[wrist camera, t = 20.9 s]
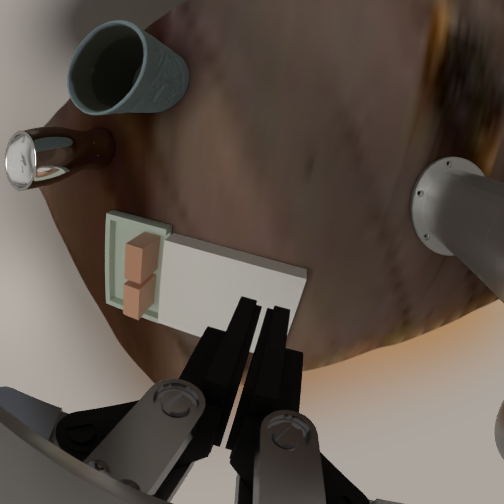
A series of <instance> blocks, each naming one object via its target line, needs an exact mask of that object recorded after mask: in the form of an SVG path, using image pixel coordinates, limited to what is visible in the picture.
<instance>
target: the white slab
mask: <svg viewBox="0 0 504 504" xmlns="http://www.w3.org/2000/svg"><path fill="white" fill-rule="evenodd" d="M306 280H307V269H304V268H301V267H297V266H293V265H290V264H286V263H282V262H279V261H275V260H271V259H268V258H264V257H260V256H257V255H253V254H249V253H246V252H242V251H238V250H235V249H231V248H227V247H224V246H220V245H216V244H213V243H209V242H205V241H202V240H198V239H194V238H191V237H187V236H183V235H180V234H176V233H173V234H172V235H171V236H169V237H168V238H166V239H165V240H164V249H163V259H162V270H161V282H160V296H159V311H158V323H161V324H164V325H167V326H169V327H172V328H175V329H178V330H181V331H184V332H187V333H190V334H193V335H196V336H199V337H202V335H203V333H204V331H205V329H206V328H207V327H208V326H209V327H213V328H216V329H219V330H222V331H226V330H227V328H228V325H229V323H230V321H231V319H232V316H233V314H234V312H235V309H236V307H237V305H238V302H239V300H240V298H241V296H243V297H246V298H250V299H254V300H257V303H256V305H259V306H262V309H261V312H260V316H259V319H258V323H257V326H256V330H255V333H254V337H253V340H252V344H251V347H250V351H249V352H252V353H254V350H255V347H256V344H257V341H258V337H259V334H260V331H261V327H262V324H263V320H264V317H265V314H266V310H267V308H270V309H273V308H274V306H279V307H283V308H287V309H290V317H289V325H288V332H289V329H290V327H291V324H292V321H293V318H294V315H295V312H296V309H297V307H298V304H299V301H300V298H301V295H302V292H303V289H304V286H305V283H306ZM288 332H287V335H288Z"/></svg>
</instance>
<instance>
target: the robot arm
mask: <svg viewBox="0 0 504 504" xmlns="http://www.w3.org/2000/svg"><path fill="white" fill-rule="evenodd" d="M447 162H448V165H447ZM418 191H420V193H419V194H417V192H418ZM410 215H411V221H412V224H413V227H414V230H415V232H416V234H417V236H418V237H419V239H420V240H421V241H422V242H423V243H424V244H425V245H426V246H427V247H428V248H429V249H431V250H432V251H434V252H435V253H438V254H441V255H447V256H453V255H455V256H456V257H457V258H458V259H459V260H460V261H462V262H463V263H464V264H465V265H466V266H467V267H468V268H469V269H470V270H471V271H472V272H473V273H474V274H475V275H476V276H477V277H478V278H479V279H480V280H481V281H482V282H483V283H484V284H485V285H486V286H487V287H488V288H489V289H490V290H491V291H492V292H493V293H494V294H495V295H496V296H497V297H498V298H499V299H500V300H501V301H502V302H503V303H504V182H501V181H497V180H494V179H491V178H487V177H485V175H484V174H483V172H482V171H481V170H480V169H479V168H478V167H477V166H476V165H475V164H474V163H472V162H471V161H469V160H466V159H464V158H460V157H444V158H440V159H438V160H436V161H434V162H432V163H431V164H430V165H428V166H427V167H426V168H425V169H424V170H423V171H422V173H421V174H420V175H419V177H418V179H417V181H416V182H415V185H414V188H413V191H412V194H411V200H410ZM425 234H426V236H425V237H424V235H425ZM256 303H257V300H254V299H250V298H246V297H243V296H241V298H240V300H239V302H238V305H237V307H236V309H235V312H234V314H233V316H232V319H231V321H230V323H229V325H228V328H227V330H226V331H222V330H219V329H216V328H213V327H209V326H208V327H207V328H206V329H205V331H204V333H203V335H202V337H201V339H200V341H199V342H198V344H197V346H196V348H195V350H194V352H193V354H192V355H191V357H190V359H189V361H188V363H187V365H186V367H185V368H184V370H183V372H182V374H181V376H180V378H179V379H164V380H162V381H159V382H157V383H156V384H154V385H153V386H152V387H151V388H150V389H149V390H148V391H147V392H146V393H145V395H144V396H143V397H142V398H141V399H140V400H138V401H134V402H129V403H124V404H120V405H114V406H109V407H103V408H97V409H91V410H86V411H78V412H74V413H71V414H68V413H65V412H63V410H62V409H61V408H59V407H56V406H54V405H51V404H49V403H46V402H43V401H41V400H38V399H36V398H34V397H31V396H29V395H26V394H24V393H22V392H20V391H17V390H15V389H13V388H10V387H0V504H172V503H170V501H171V500H172V498H173V496H174V495H175V493H176V491H177V490H178V488H179V487H180V486H181V484H182V482H183V481H184V479H185V477H186V476H187V474H188V473H189V471H190V470H191V468H192V466H193V464H194V462H195V461H197V460H199V459H202V458H205V457H208V455H209V453H210V452H211V449H212V447H213V445H216V446H220V444H221V441H222V438H223V435H224V432H225V429H226V425H227V423H228V419H229V416H230V413H231V410H232V407H233V404H234V400H235V397H236V394H237V391H238V387H239V384H240V381H241V378H242V374H243V371H244V368H245V364H246V361H247V358H248V354H249V351H250V347H251V344H252V340H253V337H254V333H255V330H256V326H257V323H258V319H259V316H260V312H261V309H262V306H259V305H256ZM289 317H290V309H287V308H283V307H279V306H274V308H273V309H270V308H267V310H266V314H265V317H264V320H263V324H262V327H261V331H260V334H259V337H258V341H257V344H256V347H255V350H254V354H253V357H252V360H251V364H250V367H249V370H248V374H247V377H246V381H245V384H244V388H243V391H242V394H241V398H240V401H239V405H238V408H237V411H236V415H235V418H234V422H233V425H232V428H231V431H230V435H229V438H228V441H227V444H226V448H227V449H230V450H232V452H231V455H230V459H231V460H230V464H231V465H232V467H233V468H234V469H235V470H236V472H237V473H238V474H237V477H236V492H235V504H402V503H397V502H391V501H386V500H381V499H376V500H375V501H372V500H368V499H367V497H366V496H365V495H364V494H363V493H362V492H361V491H360V490H359V489H358V488H357V487H356V486H355V485H353V484H352V483H351V482H350V481H349V480H348V479H347V478H346V477H345V476H344V475H343V474H342V473H341V472H340V471H339V470H338V469H337V468H335V467H334V465H333V464H332V463H331V462H330V461H329V460H327V458H325V456H323V454H322V453H321V452H320V450H319V442H318V434H317V431H316V428H315V426H314V424H313V423H312V422H311V420H309V419H308V418H307V417H306V416H304V415H302V414H300V413H299V405H300V393H301V379H302V367H303V352H299V351H295V350H291V349H287V348H285V347H286V340H287V332H288V325H289ZM495 441H496V445H497V448H498V450H499V453H500V454H501V456H502V458H503V459H504V401H503V403H502V405H501V407H500V409H499V412H498V415H497V419H496V423H495Z"/></svg>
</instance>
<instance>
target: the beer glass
mask: <svg viewBox="0 0 504 504" xmlns="http://www.w3.org/2000/svg"><path fill="white" fill-rule="evenodd" d="M113 154H114V140H113V137H112V135H111V134H110V132H109V131H108V130H106V129H104V128H94V129H91V130H87V131H79V130H74V129H69V128H64V127H55V126H53V127H40V128H34V129H29V130H25V131H18V132H16V133H15V134H14V135H13V136H12V137H11V139H10V141H9V143H8V145H7V149H6V154H5V168H6V174H7V177H8V179H9V182H10V183H11V185H12V186H13V187H14V188H15V189H16V190H18V191H24V190H27V189H33V188H38V187H43V186H47V185H51V184H54V183H57V182H59V181H61V180H64V179H66V178H68V177H70V176H71V175H73V174H75V173H77V172H79V171H81V170H84V169H101V168H104V167H105V166H107V165H108V164H109V162H110V161H111V159H112V157H113Z"/></svg>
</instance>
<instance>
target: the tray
mask: <svg viewBox="0 0 504 504" xmlns="http://www.w3.org/2000/svg"><path fill="white" fill-rule="evenodd" d="M172 229H173V225H170V224H166V223H162V222H158V221H155V220H151V219H147V218H143V217H140V216H136V215H132V214H128V213H124V212H121V211H117V210H113V211H110V212H108V213H106V232H105V287H106V303H107V304H110V305H112V306H115V307H117V308H120V309H122V310H123V289H124V283H125V282H127V281H128V280H127V279H125V278H124V270H125V247H126V243H127V242H129V241H130V240H132V239H133V238H135V237H137V236H138V235H140V234H142V233H143V232H148V233H152V234H155V235H159V236H161V237H160V246H159V256H158V266H157V269H156V270H155V271H154V272H153V273H154V274H156V282H155V293H154V303H153V304H152V305H151V306H150V308H149V309H148V310H147V311H146V312H145V313H144V314H143V315H142V317H143V318H145V319H148V320H151V321H153V322H156V323H158V311H159V296H160V282H161V270H162V259H163V249H164V240H165V239H166V238H168V237H169V236H171V235H172Z"/></svg>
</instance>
